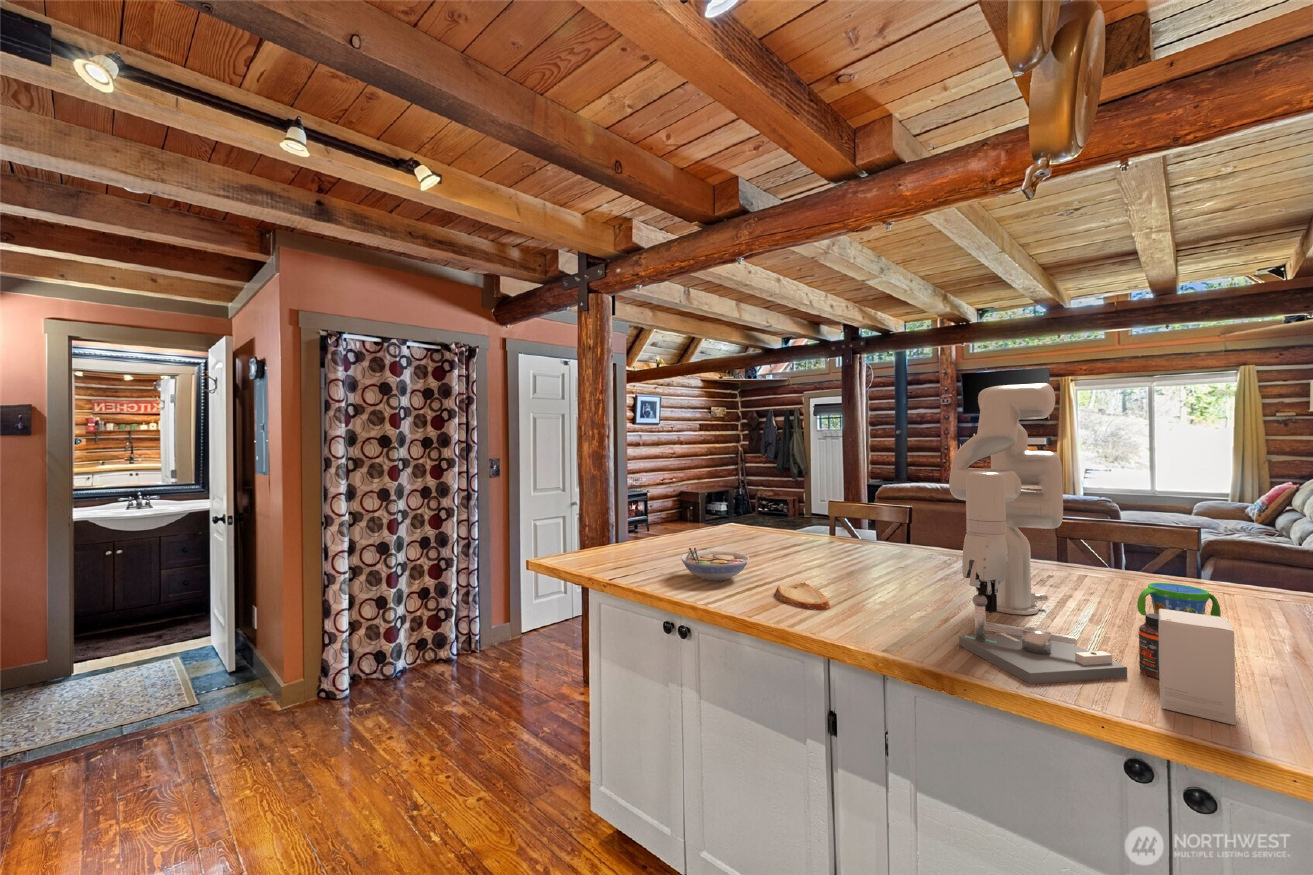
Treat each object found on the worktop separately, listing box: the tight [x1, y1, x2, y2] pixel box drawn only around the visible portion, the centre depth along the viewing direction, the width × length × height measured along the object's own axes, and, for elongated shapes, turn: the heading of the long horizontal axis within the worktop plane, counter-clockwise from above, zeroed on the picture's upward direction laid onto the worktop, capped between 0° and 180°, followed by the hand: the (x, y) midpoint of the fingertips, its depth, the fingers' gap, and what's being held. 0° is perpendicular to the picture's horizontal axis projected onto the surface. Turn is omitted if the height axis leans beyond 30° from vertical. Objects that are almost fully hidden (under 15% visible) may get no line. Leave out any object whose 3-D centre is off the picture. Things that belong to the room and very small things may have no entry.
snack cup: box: [1136, 582, 1222, 617], centre depth 130 cm, size 16×10×10 cm
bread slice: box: [774, 582, 832, 611], centre depth 160 cm, size 18×18×4 cm
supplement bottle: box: [1138, 612, 1159, 680], centre depth 105 cm, size 6×6×11 cm
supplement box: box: [1158, 609, 1237, 726], centre depth 93 cm, size 9×9×15 cm
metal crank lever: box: [972, 593, 1077, 654], centre depth 115 cm, size 18×5×10 cm, turn 52°
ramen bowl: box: [680, 547, 750, 583], centre depth 184 cm, size 25×23×8 cm
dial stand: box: [958, 632, 1128, 685], centre depth 113 cm, size 20×20×4 cm
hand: (987, 610), depth 122 cm, fingers closed
